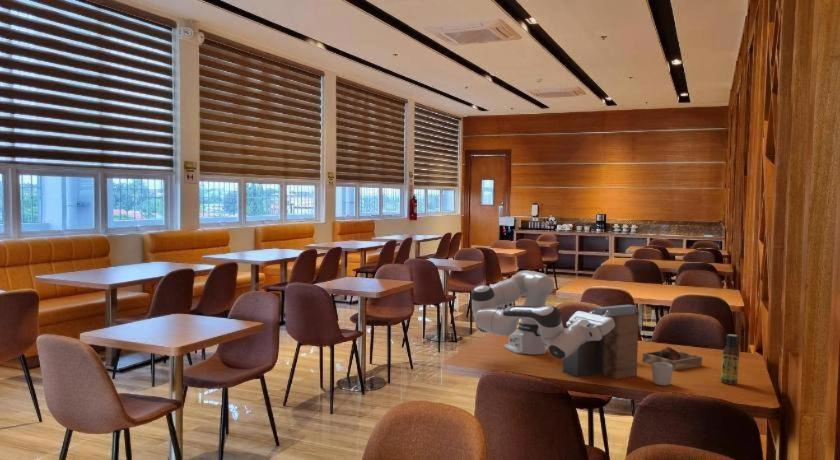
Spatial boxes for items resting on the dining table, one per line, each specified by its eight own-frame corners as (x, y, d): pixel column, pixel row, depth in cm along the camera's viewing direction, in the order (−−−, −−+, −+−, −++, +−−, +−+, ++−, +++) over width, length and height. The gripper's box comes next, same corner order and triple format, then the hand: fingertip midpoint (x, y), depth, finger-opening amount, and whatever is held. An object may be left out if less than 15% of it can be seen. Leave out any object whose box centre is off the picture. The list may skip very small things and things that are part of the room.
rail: (594, 316, 265) (595, 307, 265) (629, 312, 275) (629, 304, 275) (601, 317, 262) (601, 308, 262) (635, 313, 272) (635, 305, 272)
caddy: (642, 361, 296) (642, 353, 296) (670, 357, 305) (670, 349, 305) (673, 370, 281) (673, 361, 281) (701, 365, 291) (702, 356, 290)
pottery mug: (658, 359, 303) (668, 345, 302) (675, 372, 297) (685, 357, 296) (650, 357, 293) (660, 343, 292) (668, 370, 287) (679, 355, 286)
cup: (644, 379, 266) (645, 360, 266) (663, 379, 267) (664, 360, 267) (656, 387, 256) (657, 367, 255) (675, 386, 256) (676, 367, 256)
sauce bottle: (719, 383, 262) (721, 335, 261) (721, 380, 267) (723, 332, 266) (737, 386, 259) (739, 337, 258) (738, 382, 264) (740, 334, 263)
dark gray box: (563, 372, 275) (564, 329, 274) (592, 367, 284) (594, 326, 283) (577, 377, 268) (578, 333, 267) (607, 372, 277) (608, 329, 276)
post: (603, 375, 272) (605, 314, 270) (623, 371, 278) (625, 312, 276) (616, 379, 266) (618, 316, 264) (636, 375, 272) (638, 314, 270)
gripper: (566, 331, 269) (588, 313, 275) (603, 341, 251) (625, 321, 257) (561, 319, 267) (583, 300, 273) (597, 328, 250) (620, 308, 255)
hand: (603, 310), depth 265 cm, fingers closed on rail, 3 cm apart
